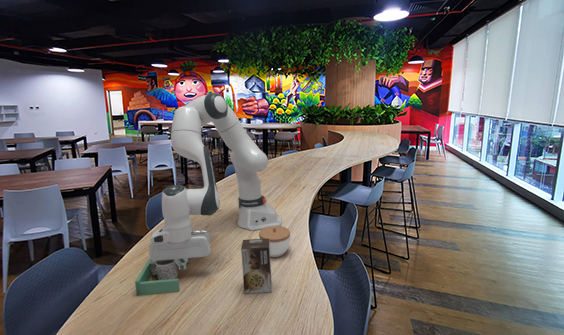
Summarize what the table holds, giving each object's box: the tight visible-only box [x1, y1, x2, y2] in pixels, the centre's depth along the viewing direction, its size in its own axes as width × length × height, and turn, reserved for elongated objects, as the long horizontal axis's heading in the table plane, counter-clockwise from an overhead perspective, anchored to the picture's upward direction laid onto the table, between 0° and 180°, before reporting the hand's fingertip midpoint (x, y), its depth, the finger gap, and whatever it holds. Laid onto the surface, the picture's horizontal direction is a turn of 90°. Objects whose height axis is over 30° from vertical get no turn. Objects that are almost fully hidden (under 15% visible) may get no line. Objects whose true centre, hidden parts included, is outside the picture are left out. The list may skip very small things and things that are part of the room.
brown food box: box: [240, 238, 273, 294], centre depth 96 cm, size 9×6×16 cm
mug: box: [150, 259, 179, 280], centre depth 104 cm, size 10×7×7 cm
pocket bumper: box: [134, 257, 190, 296], centre depth 104 cm, size 13×18×5 cm
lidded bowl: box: [258, 225, 291, 258], centre depth 119 cm, size 13×13×11 cm
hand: (182, 268), depth 104 cm, fingers closed
